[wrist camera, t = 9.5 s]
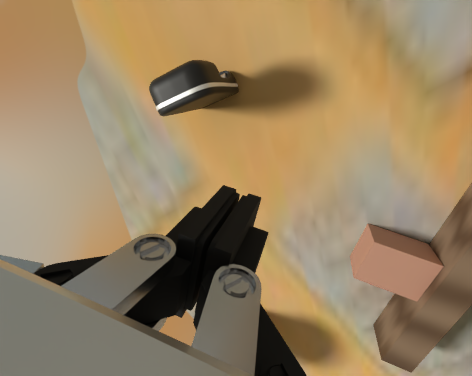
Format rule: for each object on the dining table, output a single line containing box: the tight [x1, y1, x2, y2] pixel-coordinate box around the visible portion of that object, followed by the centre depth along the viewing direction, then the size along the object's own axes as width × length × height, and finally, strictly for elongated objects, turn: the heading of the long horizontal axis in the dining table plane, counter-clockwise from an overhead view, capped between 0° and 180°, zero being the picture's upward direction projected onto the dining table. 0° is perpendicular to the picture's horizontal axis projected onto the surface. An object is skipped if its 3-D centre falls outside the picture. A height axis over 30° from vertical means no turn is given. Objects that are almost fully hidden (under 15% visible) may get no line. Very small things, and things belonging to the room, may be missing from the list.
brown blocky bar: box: [374, 183, 472, 372], centre depth 33 cm, size 28×4×6 cm, turn 166°
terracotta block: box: [350, 224, 444, 302], centre depth 35 cm, size 6×8×5 cm
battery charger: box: [149, 60, 239, 116], centre depth 31 cm, size 7×4×11 cm, turn 112°
